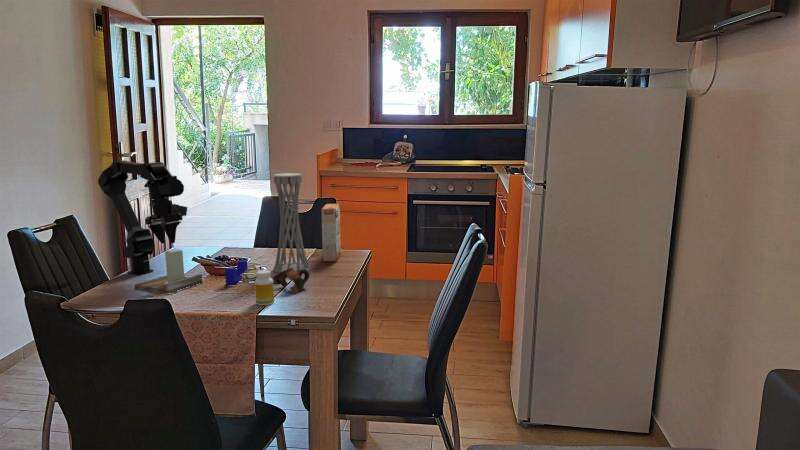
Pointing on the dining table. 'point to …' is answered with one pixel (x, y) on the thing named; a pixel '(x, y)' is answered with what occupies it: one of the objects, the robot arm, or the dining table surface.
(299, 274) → the pottery mug
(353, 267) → the dining table surface
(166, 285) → the walnut board
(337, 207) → the cracker box
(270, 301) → the supplement bottle
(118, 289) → the dining table surface
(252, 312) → the dining table surface
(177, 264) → the sage block
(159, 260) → the dining table surface
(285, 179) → the vase
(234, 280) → the blue notched block
